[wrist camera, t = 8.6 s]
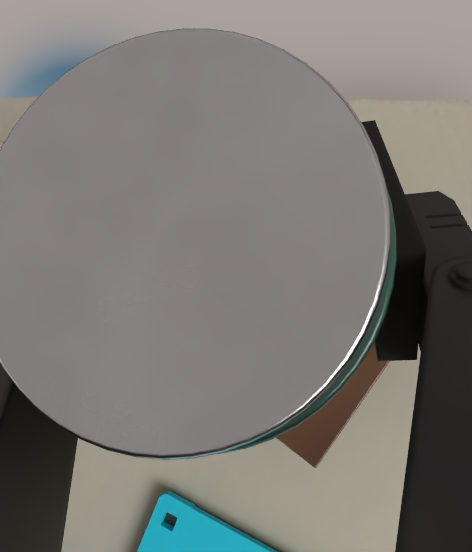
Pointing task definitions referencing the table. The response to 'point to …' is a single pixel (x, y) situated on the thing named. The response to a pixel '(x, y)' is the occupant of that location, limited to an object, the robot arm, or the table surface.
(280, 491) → the table surface
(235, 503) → the table surface
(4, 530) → the robot arm
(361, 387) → the walnut shelf
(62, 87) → the green can
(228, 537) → the diskette
